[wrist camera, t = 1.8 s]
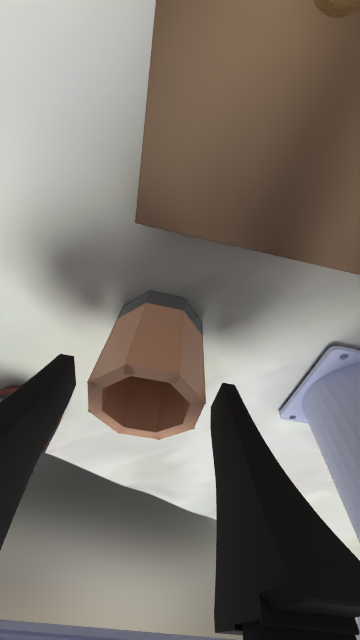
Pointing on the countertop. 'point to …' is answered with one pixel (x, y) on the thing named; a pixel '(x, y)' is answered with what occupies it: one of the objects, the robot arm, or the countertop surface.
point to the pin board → (255, 128)
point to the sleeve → (151, 369)
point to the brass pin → (338, 7)
